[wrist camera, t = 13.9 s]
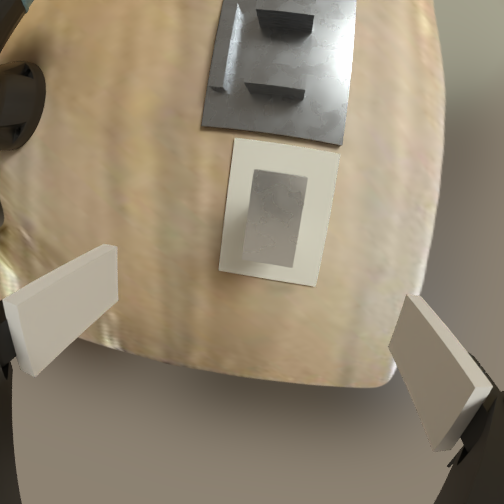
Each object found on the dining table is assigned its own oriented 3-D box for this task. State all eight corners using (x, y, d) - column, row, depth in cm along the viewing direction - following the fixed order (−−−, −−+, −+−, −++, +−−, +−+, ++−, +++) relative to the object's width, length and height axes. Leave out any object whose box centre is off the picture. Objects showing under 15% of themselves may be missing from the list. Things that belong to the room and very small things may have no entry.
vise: (203, 126, 35) (187, 120, 29) (232, -30, 28) (224, -54, 22) (340, 145, 34) (350, 142, 28) (355, -16, 27) (364, -40, 21)
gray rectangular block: (257, 227, 37) (241, 259, 25) (265, 167, 35) (253, 169, 23) (291, 233, 36) (292, 267, 24) (301, 173, 34) (307, 177, 22)
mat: (219, 268, 39) (218, 270, 39) (235, 138, 35) (234, 137, 34) (315, 284, 38) (315, 286, 38) (339, 154, 34) (340, 154, 33)
